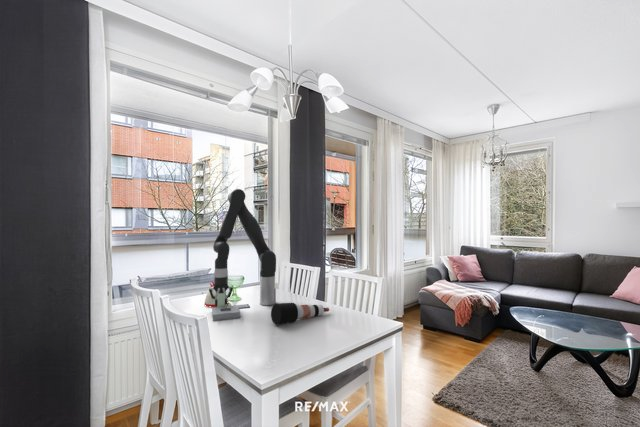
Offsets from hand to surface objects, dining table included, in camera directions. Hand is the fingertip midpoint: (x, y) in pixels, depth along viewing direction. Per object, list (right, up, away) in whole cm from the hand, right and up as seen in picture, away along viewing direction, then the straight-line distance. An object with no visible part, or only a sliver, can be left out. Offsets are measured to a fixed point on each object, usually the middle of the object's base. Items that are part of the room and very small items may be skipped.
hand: (220, 305), depth 182 cm
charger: (0, -3, 0) cm, 3 cm away
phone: (+9, -3, +5) cm, 11 cm away
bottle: (+49, -3, -16) cm, 52 cm away
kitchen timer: (-7, -3, +12) cm, 14 cm away
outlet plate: (+6, -3, -10) cm, 12 cm away
